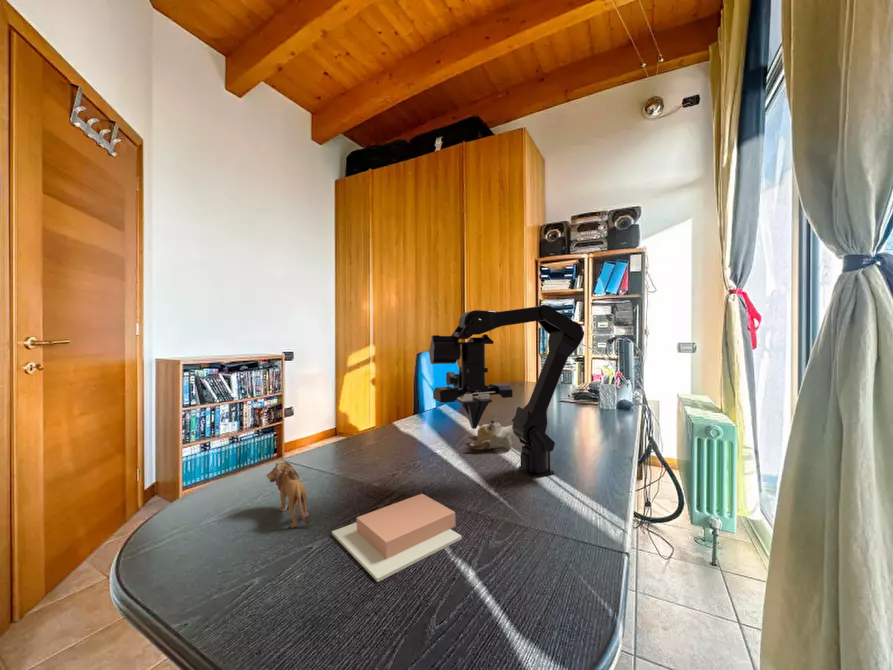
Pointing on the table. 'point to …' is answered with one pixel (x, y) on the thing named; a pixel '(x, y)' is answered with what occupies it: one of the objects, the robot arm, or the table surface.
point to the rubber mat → (387, 567)
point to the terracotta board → (405, 524)
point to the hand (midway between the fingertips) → (473, 428)
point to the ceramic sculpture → (493, 437)
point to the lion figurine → (290, 490)
